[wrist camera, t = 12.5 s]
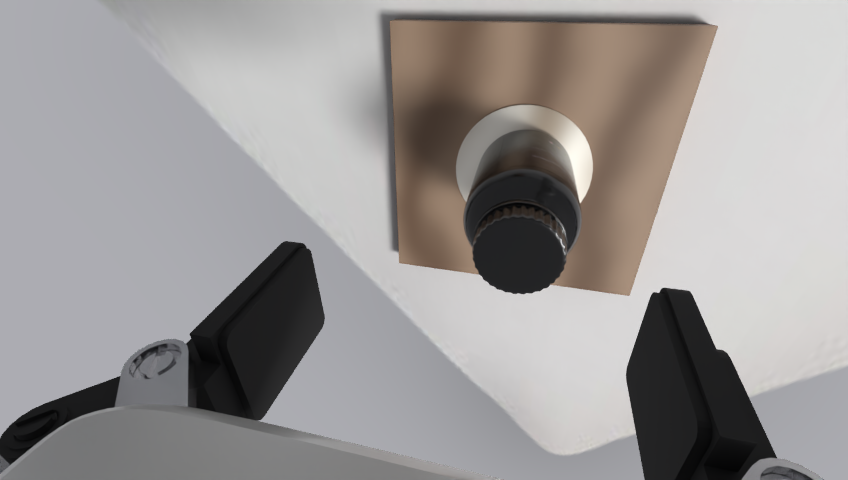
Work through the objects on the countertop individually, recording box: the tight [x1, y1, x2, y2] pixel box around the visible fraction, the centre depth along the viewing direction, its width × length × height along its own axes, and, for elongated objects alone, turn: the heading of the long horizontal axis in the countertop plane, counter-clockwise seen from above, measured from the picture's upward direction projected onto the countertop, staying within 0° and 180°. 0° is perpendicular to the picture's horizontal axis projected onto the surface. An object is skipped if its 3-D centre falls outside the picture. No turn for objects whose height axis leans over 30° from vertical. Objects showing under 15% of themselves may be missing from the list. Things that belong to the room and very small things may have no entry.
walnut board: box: [390, 19, 718, 296], centre depth 32 cm, size 20×20×2 cm
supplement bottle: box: [463, 129, 582, 294], centre depth 26 cm, size 7×7×12 cm
